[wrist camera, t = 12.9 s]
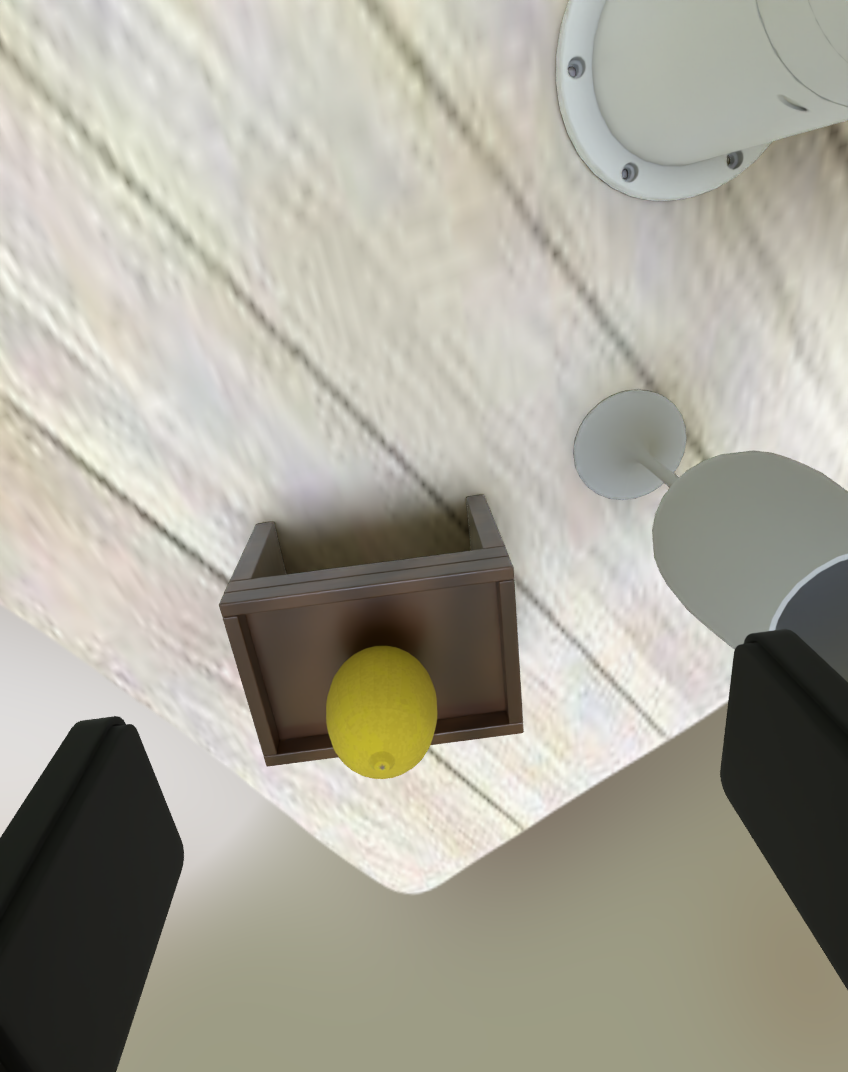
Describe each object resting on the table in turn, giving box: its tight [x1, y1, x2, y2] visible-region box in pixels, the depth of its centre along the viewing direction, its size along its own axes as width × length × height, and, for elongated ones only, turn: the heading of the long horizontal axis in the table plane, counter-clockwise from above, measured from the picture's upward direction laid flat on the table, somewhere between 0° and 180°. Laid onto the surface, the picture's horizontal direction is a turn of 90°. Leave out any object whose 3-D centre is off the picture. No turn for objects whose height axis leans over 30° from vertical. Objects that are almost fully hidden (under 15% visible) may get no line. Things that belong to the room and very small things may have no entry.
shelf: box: [219, 495, 524, 766], centre depth 38 cm, size 15×11×10 cm
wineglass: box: [573, 389, 848, 682], centre depth 30 cm, size 8×8×21 cm
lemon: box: [326, 646, 437, 779], centre depth 31 cm, size 6×6×8 cm
